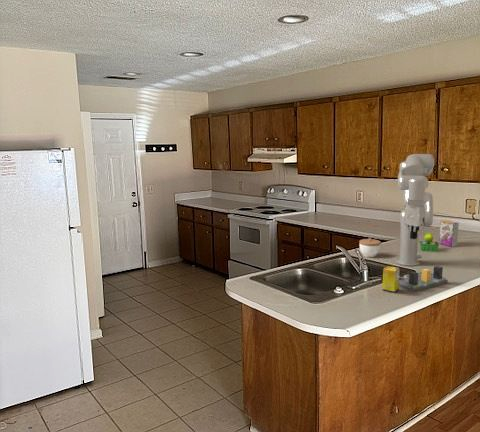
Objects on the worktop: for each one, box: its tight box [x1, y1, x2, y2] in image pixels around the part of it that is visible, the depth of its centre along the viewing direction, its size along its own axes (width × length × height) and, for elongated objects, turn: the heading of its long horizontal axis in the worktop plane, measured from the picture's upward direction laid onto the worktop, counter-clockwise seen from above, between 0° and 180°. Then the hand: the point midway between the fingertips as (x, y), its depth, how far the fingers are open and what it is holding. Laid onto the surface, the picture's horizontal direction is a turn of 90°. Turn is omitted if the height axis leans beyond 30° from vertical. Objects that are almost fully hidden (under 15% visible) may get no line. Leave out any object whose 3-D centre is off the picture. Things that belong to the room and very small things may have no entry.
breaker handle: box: [421, 268, 432, 282], centre depth 218 cm, size 3×3×6 cm
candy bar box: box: [438, 219, 460, 248], centre depth 296 cm, size 11×5×16 cm, turn 22°
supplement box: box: [382, 265, 400, 294], centre depth 212 cm, size 6×6×11 cm
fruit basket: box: [418, 231, 440, 253], centre depth 284 cm, size 11×9×11 cm
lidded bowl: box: [358, 237, 381, 258], centre depth 272 cm, size 13×13×11 cm
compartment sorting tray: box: [399, 265, 449, 293], centre depth 222 cm, size 26×14×8 cm, turn 119°
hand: (413, 238), depth 223 cm, fingers closed
